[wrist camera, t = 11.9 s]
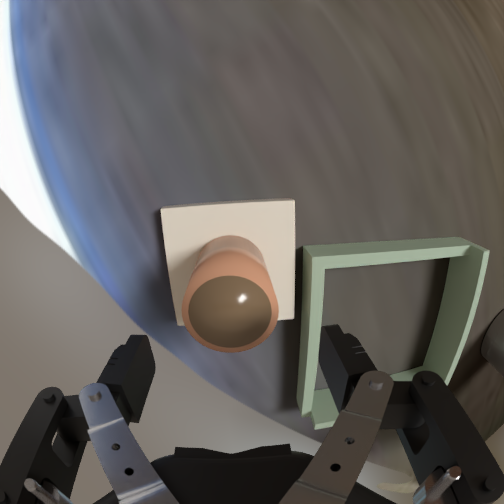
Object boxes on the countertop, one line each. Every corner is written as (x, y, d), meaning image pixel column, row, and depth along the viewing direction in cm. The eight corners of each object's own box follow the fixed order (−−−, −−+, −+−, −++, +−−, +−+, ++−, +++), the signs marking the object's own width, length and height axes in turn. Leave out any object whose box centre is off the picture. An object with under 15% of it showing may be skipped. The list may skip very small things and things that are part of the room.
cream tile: (290, 198, 22) (294, 200, 21) (290, 310, 25) (294, 318, 24) (165, 205, 22) (160, 208, 20) (180, 317, 25) (177, 325, 23)
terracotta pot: (265, 233, 21) (279, 266, 15) (265, 298, 23) (277, 350, 16) (193, 236, 21) (175, 270, 14) (199, 301, 23) (187, 353, 16)
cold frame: (458, 236, 24) (489, 250, 20) (425, 369, 30) (444, 392, 25) (303, 245, 24) (320, 266, 19) (296, 398, 29) (304, 431, 24)
